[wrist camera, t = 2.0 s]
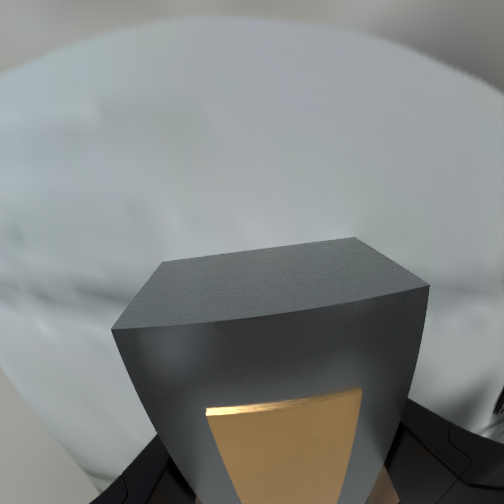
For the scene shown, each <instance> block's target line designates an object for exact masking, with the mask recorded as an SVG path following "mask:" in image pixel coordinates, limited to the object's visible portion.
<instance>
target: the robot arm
mask: <svg viewBox="0 0 504 504" xmlns="http://www.w3.org/2000/svg"><path fill="white" fill-rule="evenodd" d="M503 413H504V395H503V397H502V399H501V401H500V403H499V405H498V407H497V408H496V410H495V414H496V415H497V416H500V415H501V414H503ZM384 466H385V468H386V471H387V473H388V475H389V477H390V480H391V482H392V484H393V486H394V489H395V491H396V493H397V495H398V498H399V500H400V502H401V504H504V444H502V443H499V442H496V441H493V440H491V439H488V438H485V437H482V436H480V435H477V434H475V433H472V432H470V431H468V430H466V429H464V428H462V427H460V426H458V425H456V424H454V423H452V422H449V421H448V420H446V419H445V418H443V417H441V416H439V415H437V414H435V413H434V412H432V411H430V410H428V409H426V408H425V407H423V406H421V405H419V404H418V403H416V402H414V401H412V400H411V399H409V398H407V400H406V404H405V407H404V410H403V413H402V416H401V419H400V422H399V425H398V428H397V431H396V433H395V436H394V439H393V442H392V444H391V447H390V449H389V452H388V454H387V457H386V459H385V461H384ZM195 500H196V494H195V493H194V491H193V490H192V488H191V487H190V485H189V484H188V482H187V481H186V479H185V478H184V476H183V475H182V473H181V472H180V470H179V469H178V467H177V466H176V464H175V462H174V461H173V459H172V457H171V456H170V454H169V452H168V451H167V449H166V447H165V446H164V444H163V442H162V440H161V439H160V437H159V435H158V433H157V435H156V436H155V437H154V438H153V439H152V440H151V441H150V443H149V444H148V445H147V446H146V447H145V448H144V449H143V450H142V452H141V453H140V454H139V455H138V456H137V457H136V458H135V459H134V460H133V462H132V463H131V464H130V465H129V466H128V467H127V468H126V469H125V470H124V471H123V472H122V475H120V476H119V477H118V478H117V479H116V480H115V481H114V482H113V483H112V484H111V485H110V486H109V487H108V488H107V489H106V490H105V491H104V492H103V493H101V494H100V495H99V496H98V497H97V498H96V499H94V500H93V501H92V502H90V503H89V504H195Z"/></svg>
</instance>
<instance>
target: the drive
mask: <svg viewBox="0 0 504 504" xmlns="http://www.w3.org/2000/svg"><path fill="white" fill-rule="evenodd" d="M429 287H430V285H429V284H428V283H426V282H425V281H423V280H422V279H420V278H419V277H417V276H416V275H414V274H413V273H411V272H409V271H408V270H406V269H405V268H403V267H402V266H400V265H399V264H397V263H395V262H394V261H392V260H391V259H389V258H388V257H386V256H384V255H383V254H381V253H380V252H378V251H376V250H375V249H373V248H371V247H370V246H368V245H367V244H365V243H363V242H362V241H360V240H358V239H357V238H355V237H352V238H344V239H336V240H328V241H320V242H313V243H305V244H297V245H289V246H281V247H274V248H266V249H258V250H250V251H243V252H235V253H227V254H219V255H212V256H204V257H196V258H189V259H181V260H173V261H166V262H162V263H161V265H160V266H159V267H158V268H157V270H156V271H155V272H154V273H153V275H152V276H151V277H150V278H149V280H148V281H147V282H146V283H145V285H144V286H143V287H142V289H141V290H140V291H139V292H138V294H137V295H136V296H135V298H134V299H133V300H132V302H131V303H130V304H129V305H128V307H127V308H126V309H125V311H124V312H123V313H122V315H121V316H120V317H119V319H118V320H117V321H116V323H115V324H114V326H113V327H112V328H111V331H112V334H113V337H114V339H115V342H116V345H117V347H118V350H119V352H120V355H121V357H122V360H123V362H124V365H125V367H126V369H127V372H128V374H129V376H130V379H131V381H132V383H133V385H134V388H135V390H136V392H137V394H138V396H139V398H140V400H141V402H142V404H143V406H144V408H145V410H146V412H147V414H148V416H149V418H150V420H151V422H152V424H153V426H154V428H155V430H156V431H157V433H158V435H159V437H160V439H161V440H162V442H163V444H164V446H165V447H166V449H167V451H168V452H169V454H170V456H171V457H172V459H173V461H174V462H175V464H176V466H177V467H178V469H179V470H180V472H181V473H182V475H183V476H184V478H185V479H186V481H187V482H188V484H189V485H190V487H191V488H192V490H193V491H194V493H195V494H196V495H197V497H198V498H199V500H200V501H201V502H202V504H364V503H365V501H366V500H367V498H368V496H369V494H370V492H371V490H372V488H373V486H374V484H375V481H376V479H377V477H378V475H379V473H380V471H381V468H382V466H383V464H384V461H385V459H386V457H387V454H388V452H389V449H390V447H391V444H392V442H393V439H394V436H395V433H396V431H397V428H398V425H399V422H400V419H401V416H402V413H403V410H404V407H405V404H406V400H407V397H408V393H409V390H410V386H411V383H412V379H413V375H414V371H415V367H416V363H417V358H418V354H419V349H420V344H421V339H422V334H423V328H424V323H425V316H426V310H427V303H428V295H429Z"/></svg>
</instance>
